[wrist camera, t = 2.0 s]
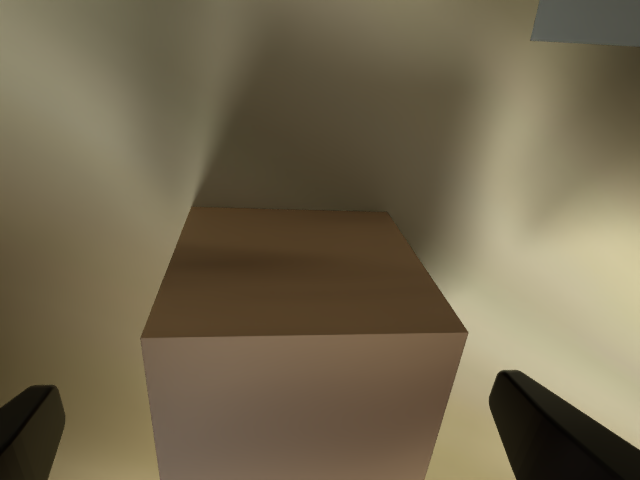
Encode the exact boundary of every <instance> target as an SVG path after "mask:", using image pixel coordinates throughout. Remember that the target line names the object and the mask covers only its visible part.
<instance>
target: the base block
mask: <svg viewBox="0 0 640 480" xmlns="http://www.w3.org/2000/svg"><path fill="white" fill-rule="evenodd" d="M530 41H547V42H565V43H583V44H601V45H619V46H636V47H640V0H540V1H539V5H538V10H537V14H536V18H535V23H534V27H533V31H532V35H531V40H530Z"/></svg>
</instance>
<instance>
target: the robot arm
mask: <svg viewBox="0 0 640 480" xmlns="http://www.w3.org/2000/svg"><path fill="white" fill-rule="evenodd" d="M489 406H490V410H491V413H492V415H493V418H494V421H495V424H496V426H497V429H498V432H499V435H500V437H501V440H502V443H503V446H504V448H505V451H506V454H507V457H508V459H509V462H510V465H511V467H512V470H513V472H514V475H515V477H516V480H640V450H639V449H637V448H636V447H634V446H633V445H631V444H630V443H628V442H627V441H625V440H624V439H622V438H621V437H619V436H618V435H616V434H615V433H613V432H612V431H610V430H609V429H607V428H606V427H604V426H603V425H601V424H600V423H598V422H597V421H595V420H594V419H592V418H591V417H589V416H588V415H586V414H584V413H583V412H581V411H580V410H578V409H577V408H575V407H574V406H572V405H571V404H569V403H568V402H566V401H565V400H563V399H562V398H560V397H559V396H557V395H556V394H554V393H553V392H551V391H550V390H548V389H547V388H545V387H544V386H542V385H541V384H539V383H538V382H536V381H535V380H533V379H532V378H530V377H529V376H527V375H525V374H524V373H522V372H521V371H518V370H502V371H500V372H499V373H498V374H497V376H496V379H495V382H494V385H493V387H492V390H491V393H490V396H489ZM64 426H65V412H64V409H63V405H62V401H61V397H60V394H59V390H58V388H57V387H56V386H55V385H33V386H30V387H28V388H27V389H25V390H24V391H23V392H21V393H20V394H19V395H17V396H16V397H15V398H13V399H12V400H11V401H9V402H8V403H7V404H5V405H4V406H2V407H1V408H0V480H48V477H49V474H50V471H51V468H52V464H53V461H54V458H55V455H56V452H57V449H58V445H59V442H60V439H61V436H62V433H63V430H64Z"/></svg>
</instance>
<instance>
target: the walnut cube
mask: <svg viewBox="0 0 640 480" xmlns="http://www.w3.org/2000/svg"><path fill="white" fill-rule="evenodd" d="M467 336H468V331H467V330H466V328H465V327H464V325H463V324H462V322H461V321H460V319H459V318H458V316H457V315H456V313H455V312H454V310H453V309H452V307H451V306H450V304H449V303H448V301H447V300H446V299H445V297H444V296H443V294H442V293H441V291H440V290H439V288H438V287H437V285H436V284H435V282H434V281H433V279H432V278H431V276H430V275H429V273H428V272H427V270H426V269H425V267H424V266H423V264H422V263H421V261H420V260H419V258H418V257H417V256H416V254H415V253H414V251H413V250H412V248H411V247H410V245H409V244H408V242H407V241H406V239H405V238H404V236H403V235H402V233H401V232H400V230H399V229H398V227H397V226H396V224H395V223H394V221H393V220H392V218H391V217H390V216H389V214H388V213H387V212H366V211H328V210H291V209H254V208H217V207H191V209H190V212H189V214H188V217H187V219H186V222H185V224H184V227H183V230H182V232H181V235H180V237H179V240H178V242H177V245H176V248H175V250H174V253H173V255H172V258H171V260H170V263H169V266H168V268H167V271H166V273H165V276H164V279H163V281H162V284H161V286H160V289H159V291H158V294H157V297H156V299H155V302H154V304H153V307H152V309H151V312H150V315H149V317H148V320H147V322H146V325H145V328H144V330H143V333H142V335H141V338H140V339H141V346H142V353H143V361H144V368H145V375H146V382H147V389H148V396H149V404H150V411H151V418H152V425H153V432H154V440H155V447H156V454H157V461H158V468H159V475H160V480H424V479H425V476H426V473H427V469H428V466H429V463H430V459H431V456H432V453H433V449H434V446H435V443H436V439H437V436H438V433H439V429H440V426H441V423H442V419H443V416H444V413H445V409H446V406H447V403H448V399H449V396H450V393H451V389H452V386H453V383H454V379H455V376H456V373H457V369H458V366H459V363H460V359H461V356H462V353H463V349H464V346H465V343H466V339H467Z"/></svg>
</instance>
